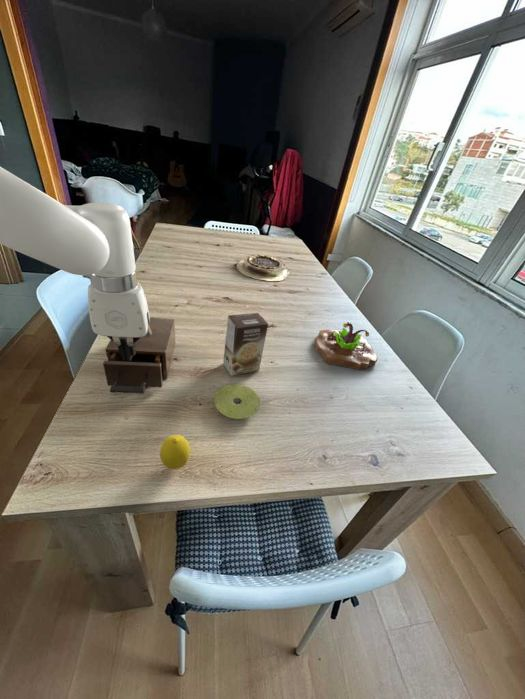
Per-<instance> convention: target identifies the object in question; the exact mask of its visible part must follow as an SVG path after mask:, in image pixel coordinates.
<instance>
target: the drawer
mask: <svg viewBox="0 0 525 699" xmlns="http://www.w3.org/2000/svg"><path fill="white" fill-rule="evenodd" d="M102 366H103V370H104V374H105V378H106V379H105V380H106V383H107V386H110V388H109V391H110V393H117V394H118V393H119V394H145V392H146V388H163V385H164V382H163V378H162V370H163V362H162V355H152V354H135V356H132V359H131V361H128V360H126V361H123V360H122V355H119V353H113V354H112V356H111V361H108V360H104V361H103V363H102Z"/></svg>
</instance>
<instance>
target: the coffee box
mask: <svg viewBox="0 0 525 699" xmlns="http://www.w3.org/2000/svg"><path fill="white" fill-rule="evenodd" d="M268 327H269V323H268V321H267V320H266V319H265V318H264V317H263V316H262V315H260V313H259V312H253V313H244V314H243V313H239V314H230V315H227V323H226V333H225V340H224V341H225V342H224V352H223V361H222V363H223V365H224V367H225V369H226V371H227V372H228V374H229V376H230V377H231V376H238V375H243V374H247V373H254V372H258V371H260V370H261V369H260V368H261V363H262V359H263V354H264V348H265V343H266V338H267V333H268V332H267V331H268Z"/></svg>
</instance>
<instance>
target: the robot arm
mask: <svg viewBox="0 0 525 699" xmlns="http://www.w3.org/2000/svg"><path fill="white" fill-rule="evenodd" d="M133 242H134V241H133V234H132V226H131V219H130V216H129V213H128V211H127V210H126V209H125V208H124V207H122V206H121V205H117V204H114V203H110V202H89V203H84V204H82V205H71V204H70V205H69V204H63V203H61V202H60V201H58V200H57V199H55V198H53V197H51V196H49V195H48V194H47V193H45V192H43V191H41V190H40V189H38V188H37V187H35V186H33V185H31V184H30V183H28V182H27V181H25V180H23V179H22V178H20V177H19V176H17V175H15V174H13V173H12V172H10V171H9V170H7V169H5V168H3V167H2V166H0V245H1V246H3V247H6V248H9V249H11V250H13V251H16V252H18V253H20V254H23V255H25V256H27V257H30V258H31V259H34V260H36V261H39V262H42V263H44V264H46V265H48V266H51V267H53V268H55V269H59V270H61V271H64V272H65V273H69V274H71V275H75V276H82V278H84V279H85V278H86V279H89V281H90V284H89V285H88V286H87V304H88V305H87V306H88V314H89V315H88V316H89V320H90V326H91V329H92V332H93V333H94V334H96V335H98V336H102V337H106V338H107V339H109V340H112V341H114V343H115V345H117V346H118V350H119V355H122V360H123V361H126V360H128V361H131V359H132V356H135V353H136V349H135V342H136V341H138V340H139V339H140V338H148V337H150V336H151V334H152V331H151V329H150V327H149V325H150V317H151V316H150V311H149V305H148V301H147V298H146V294H145V292H144V288H143V286H142V284H141V283H140V282H138V274H137V267H136V259H135V252H134V243H133ZM125 337H127V338H125Z"/></svg>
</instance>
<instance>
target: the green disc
mask: <svg viewBox="0 0 525 699" xmlns="http://www.w3.org/2000/svg"><path fill="white" fill-rule="evenodd" d="M213 401H214V406H215V408H216V410H217V411H218V412H219V413H221V414H222V415H223V416H225V417H227V418H230V419H235V420H241V419H247V418H249V417H252V416H253V415H255V414H256V413H257V412H258V410H259V409H260V406H261V400H260V397H259V395H258V394H257V393H256V392H255V391H254V389H252V388H251V387H248V386H246V385H242V384H230V385H226V386H223V387H222V388H220V389H219V390H217V392H216V394H215V395H214V399H213Z"/></svg>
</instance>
